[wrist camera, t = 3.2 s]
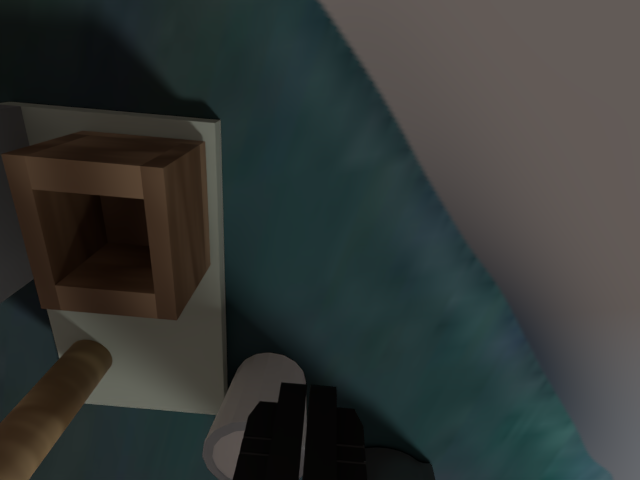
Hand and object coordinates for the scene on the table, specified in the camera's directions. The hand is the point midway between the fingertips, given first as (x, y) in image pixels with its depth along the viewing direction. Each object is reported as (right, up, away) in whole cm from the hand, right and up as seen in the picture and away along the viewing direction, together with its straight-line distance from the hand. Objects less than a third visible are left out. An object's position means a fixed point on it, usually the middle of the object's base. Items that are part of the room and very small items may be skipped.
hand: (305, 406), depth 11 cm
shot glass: (-4, -7, +21) cm, 22 cm away
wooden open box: (-10, +7, +13) cm, 18 cm away
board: (-13, +2, +17) cm, 21 cm away
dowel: (-17, -4, +19) cm, 26 cm away
